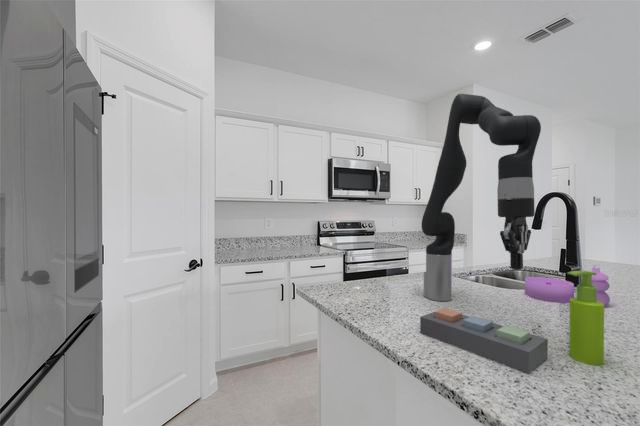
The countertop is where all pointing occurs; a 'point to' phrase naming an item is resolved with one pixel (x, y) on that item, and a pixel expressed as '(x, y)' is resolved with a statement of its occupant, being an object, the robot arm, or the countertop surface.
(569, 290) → the container set
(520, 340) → the sage green button
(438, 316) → the terracotta button
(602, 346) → the soap dispenser
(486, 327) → the slate blue button
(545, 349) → the button panel
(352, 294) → the countertop surface
